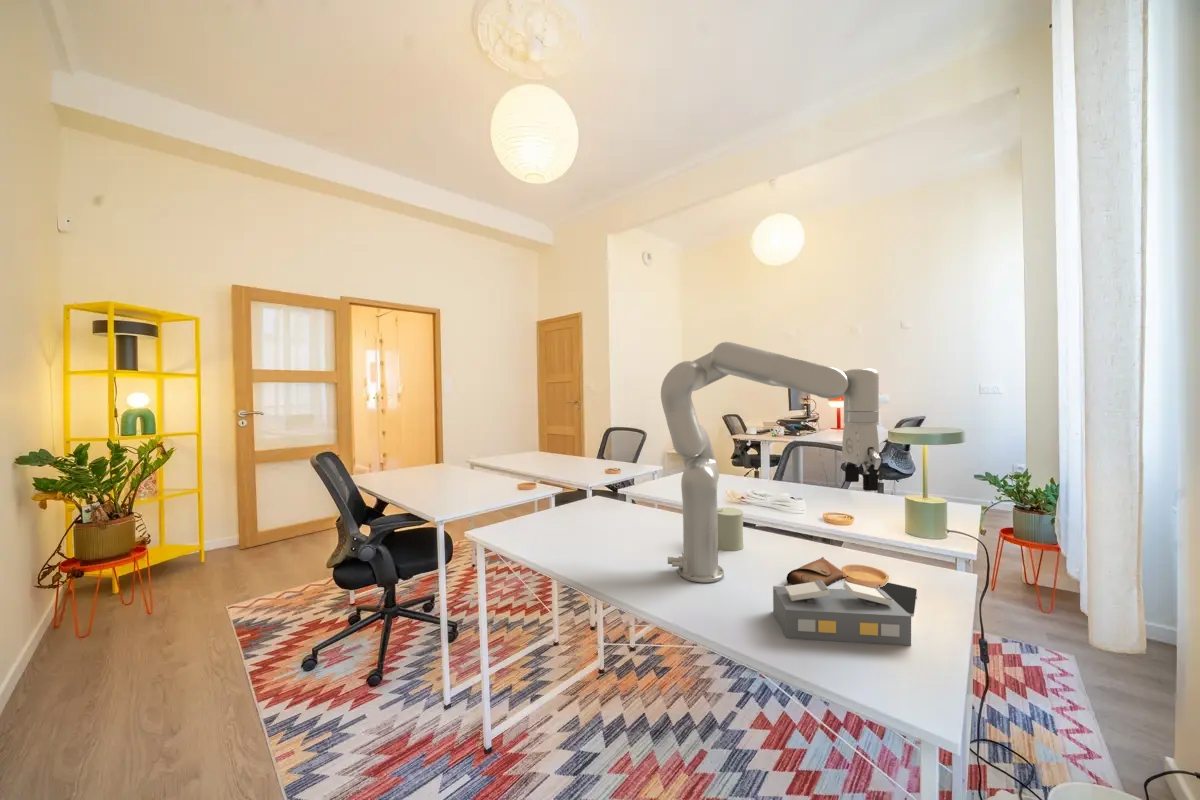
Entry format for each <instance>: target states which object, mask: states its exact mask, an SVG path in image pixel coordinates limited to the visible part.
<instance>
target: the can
mask: <svg viewBox="0 0 1200 800" xmlns="http://www.w3.org/2000/svg"><path fill="white" fill-rule="evenodd" d="M717 516H718V549H719V548H720V549H719V550H723V551H729V552H735V551H740V550H743V549H744V518H743V517H744V511H743V510H741V509H738V508H735V507H717Z"/></svg>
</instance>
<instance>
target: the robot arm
mask: <svg viewBox="0 0 1200 800" xmlns="http://www.w3.org/2000/svg"><path fill="white" fill-rule="evenodd" d="M729 375H731V376H734V377H737V378H742V379H746V380H749V381H753V382H756V383H761V384H764V385H767V386H771V387H781V388H787V389H791V390H795V391H798V392H803V393H807V394H809V395H814V396H817V397H818V398H821V399H827V400H834V399H837V398H838V399H839V398H840V397H843V424H844V425H843V430H842V431H843V432H842V442H841V443H842V446H841V458H842V459H843V460H844V468H845V470H844V476H845V477H844V481H845V482H847V483H859V481H860V466H859V465H862V468H863V472H864V473H862V490H863V491H864V492H874V491H875V492H878V491H879V475H880V470H881V463H882V458H881V456H880V444H879V443H880V442H879V433H878V425H879V424H880V423H879V422H880V421H879V415H880V414H879V412H880V411H879V409H880V408H879V406H880V405H879V403H880V401H879V399H880V398H879V391H880V390H879V389H880V388H879V385H880V384H879V382H880V381H879V379H880V377H879V372H878V370H876V369H874V368H856V369H855V368H854V369H852V368H851V369H848V370H840V369H838V368H835V367H831V366H828V365H824V364H820V363H819V364H818V363H816V362H815V363H814V362H811V361H807V360H802V359H799V358H794V357H790V356H787V355H785V354H784V355H783V354H780V353H775V352H771V351H767V350H763V349H759V348H756V347H751V346H747V345H743V344H739V343H736V342H732V341H731V342H729V341H724V342H720V343H718V344H717V345H716V346H714V348H713V349H712V350H711V351H710V352H708V353H707V354H705V355H703V356H701V357H698V358H696V359H694V360H692V361H691V360H686V361H685V360H684V361H682V362H681V361H680V362H679V363H677V364H676V365H674V366H673V367H672V368H671V369H670V370H669V371H668V372H667V374H666V375H665V377H664V378H663V381H662V383H661V387H660V400H661V405H662V409H663V413H664V417H665V420H666V424H667V427H668V431H669V435H670V437H671V438H670V439H671V442H672V446H673V449H674V451H675V452H676V453H677V455H678V456H680V458H682V461H683V464H684V465H683V466H684V470H683V472H682V476H681V484H680V486H681V497H682V498H681V499H682V500H681V501H682V531H683V532H682V533H683V534H682V536H683V538H682V539H683V544H682V545H683V549H682V550H683V552H682V553H681V555H680V556H678V557H675V556H667V565H671V567H673V568H674V567H677V570H678V571H677V572H678V575H679V576H680V577H681V578H684V579H685V580H687V581H691V582H695V583H714V582H718V581H720V580H722V579H723V578H724V577H725V571H724V569H723V567H722V566H720V565H719V548H718V516H717V509H718V482H719V478H720V477H719V476H720V472H719V471H720V469H719V465H718V463H717V460H716V459H717V458H716V457H715V452H714V449H713V446H712V443H711V440H710V436H709V434H708V432H707V430H706V428H704V426H702V425H701V424H700V421H699V420H698V417H697V416H698V415H697V413H696V412H697V411H696V409H695V405H694V404H693V400H692V395H693V394H692V393H693V392H696V391H698V390H700V389H703V388H704V387H707V386H709V385H711V384H713V383H716V382H717V381H719V380H722V379H724V378H725V377H727V376H729Z"/></svg>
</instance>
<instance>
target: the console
mask: <svg viewBox="0 0 1200 800" xmlns="http://www.w3.org/2000/svg"><path fill="white" fill-rule="evenodd" d="M828 589H829V591H830V595H828V596H821V597H815V598H808V599H801V600H795V601H792V600H791V599H790V597H789V595H788V594H787V592H786V588H785V586H779V585H772V593H773V594H772V603H773V605H772V608H773V614H774V616H775V618H776V620H777V622H778V624H779V626H780V629H781V630H782V633H783V634H784V636H785V638H786V639H796V640H798V639H799V640H812V641H815V640H817V641H830V642H844V643H845V642H846V643H847V642H848V643H860V644H861V643H863V644H864V643H865V644H880V645H894V646H895V645H896V646H909V647H910V646H912V616H910V615H909V614H908V613H907V612H906V611H905V610H904V609H903V608H902V607H901V606H900V605H899V604H898V603H896V602H895V601H894V600H893V599H892V600H893V603H892V606H890V605H886V604H882V603H878V602H874V601H870V600H866V599H862V598H857V597H853V596H851V595H850V594H849V592H848V591H847V590H846V589H845V588H843V589H842V588H828ZM884 592H885V591H884ZM885 593H886V592H885ZM886 594H887V593H886ZM887 595H888V594H887ZM888 596H889V595H888ZM889 597H890V596H889ZM890 598H891V597H890Z"/></svg>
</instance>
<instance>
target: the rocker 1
mask: <svg viewBox="0 0 1200 800" xmlns="http://www.w3.org/2000/svg"><path fill="white" fill-rule="evenodd" d="M784 587H785V588H786V592H787V594H788V595H789V597H790V599H791V600H792V601H795V600H801V599H808V598H815V597H821V596H828V595H830V591H829V589H830V588H829V587H828V586H826V585H825V584H824V583H823V581H821V580H817V581H815V582H810V583H803V584H797V585H791V584H790V585H786V586H784Z"/></svg>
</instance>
